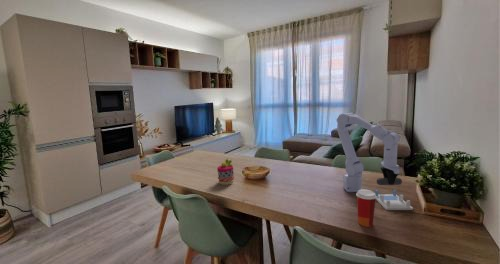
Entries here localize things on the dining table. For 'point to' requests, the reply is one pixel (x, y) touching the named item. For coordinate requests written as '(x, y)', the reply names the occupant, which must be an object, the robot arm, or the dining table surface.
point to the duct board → (393, 201)
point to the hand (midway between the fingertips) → (389, 182)
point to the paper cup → (365, 207)
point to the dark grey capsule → (385, 181)
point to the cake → (225, 173)
